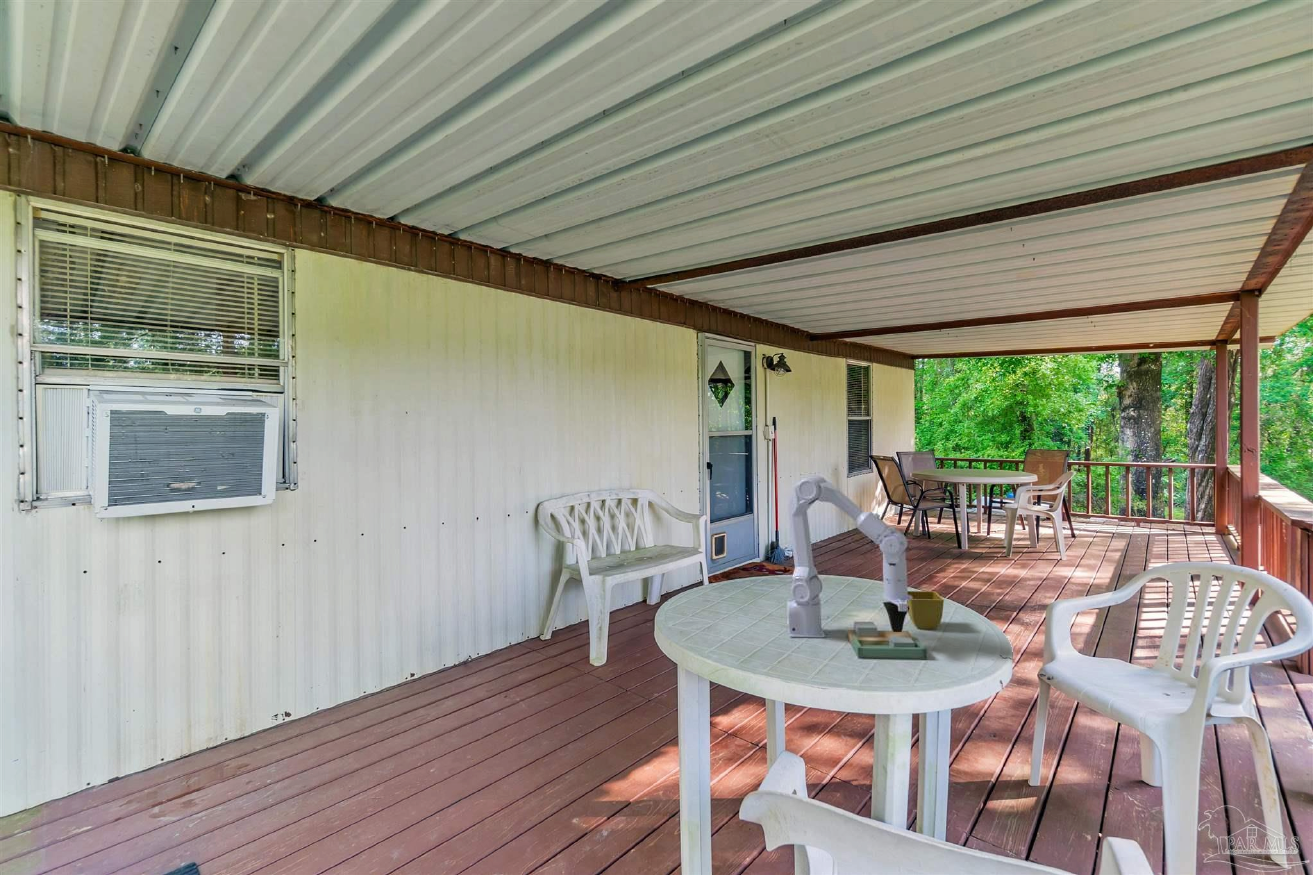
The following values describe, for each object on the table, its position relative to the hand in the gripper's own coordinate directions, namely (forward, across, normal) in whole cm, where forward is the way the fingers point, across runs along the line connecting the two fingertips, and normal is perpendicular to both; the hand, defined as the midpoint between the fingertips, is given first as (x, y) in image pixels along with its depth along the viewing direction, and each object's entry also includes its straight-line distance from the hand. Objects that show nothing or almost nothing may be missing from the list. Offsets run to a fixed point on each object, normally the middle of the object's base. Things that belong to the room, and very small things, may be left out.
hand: (896, 631), depth 149 cm
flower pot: (+4, +17, -12) cm, 21 cm away
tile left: (+2, +5, +7) cm, 9 cm away
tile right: (+3, -3, 0) cm, 5 cm away
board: (+4, +4, +3) cm, 6 cm away
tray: (+4, -4, +3) cm, 7 cm away
